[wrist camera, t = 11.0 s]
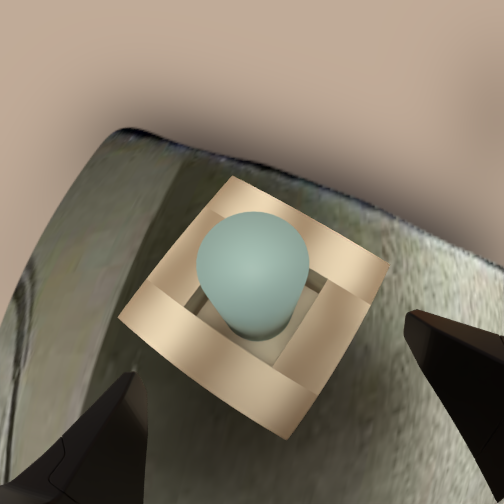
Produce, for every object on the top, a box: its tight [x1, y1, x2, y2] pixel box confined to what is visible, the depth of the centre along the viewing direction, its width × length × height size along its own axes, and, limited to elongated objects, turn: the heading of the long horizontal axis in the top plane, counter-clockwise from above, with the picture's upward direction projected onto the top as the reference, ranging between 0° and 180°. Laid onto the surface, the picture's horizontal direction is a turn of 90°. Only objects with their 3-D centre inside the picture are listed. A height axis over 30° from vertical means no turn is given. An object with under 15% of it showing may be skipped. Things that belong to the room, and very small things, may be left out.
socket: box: [118, 176, 390, 440], centre depth 20 cm, size 13×13×4 cm
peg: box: [196, 211, 309, 342], centre depth 18 cm, size 5×5×9 cm
